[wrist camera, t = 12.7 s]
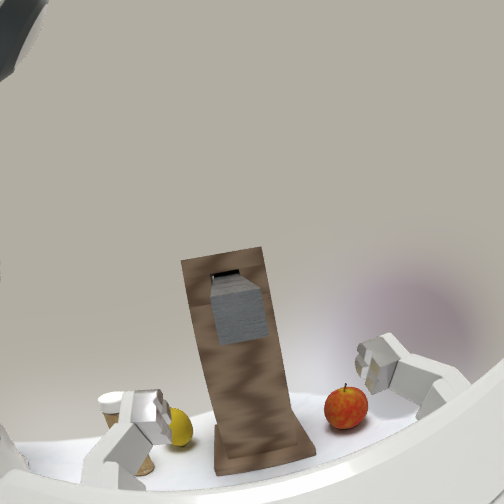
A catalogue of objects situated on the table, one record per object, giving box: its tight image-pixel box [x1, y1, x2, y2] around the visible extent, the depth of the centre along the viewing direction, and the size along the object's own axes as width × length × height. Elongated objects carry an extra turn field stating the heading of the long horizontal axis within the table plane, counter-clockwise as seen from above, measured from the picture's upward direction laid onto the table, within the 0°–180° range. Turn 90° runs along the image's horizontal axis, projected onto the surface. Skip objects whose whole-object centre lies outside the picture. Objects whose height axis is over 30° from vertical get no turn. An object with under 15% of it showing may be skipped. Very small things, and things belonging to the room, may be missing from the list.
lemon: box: [169, 407, 193, 446], centre depth 38 cm, size 6×6×8 cm
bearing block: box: [181, 247, 316, 476], centre depth 37 cm, size 14×14×30 cm
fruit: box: [324, 383, 368, 429], centre depth 36 cm, size 7×7×8 cm
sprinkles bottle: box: [98, 392, 154, 475], centre depth 30 cm, size 5×5×14 cm
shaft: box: [210, 272, 269, 346], centre depth 28 cm, size 3×24×3 cm, turn 6°
